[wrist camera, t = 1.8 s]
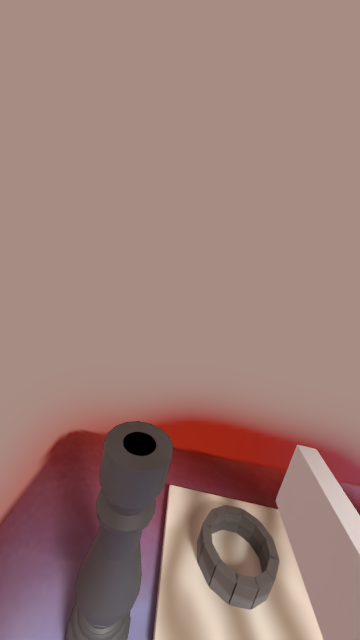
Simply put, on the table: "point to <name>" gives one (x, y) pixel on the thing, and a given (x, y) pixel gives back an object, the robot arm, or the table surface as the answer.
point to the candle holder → (119, 530)
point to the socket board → (201, 603)
